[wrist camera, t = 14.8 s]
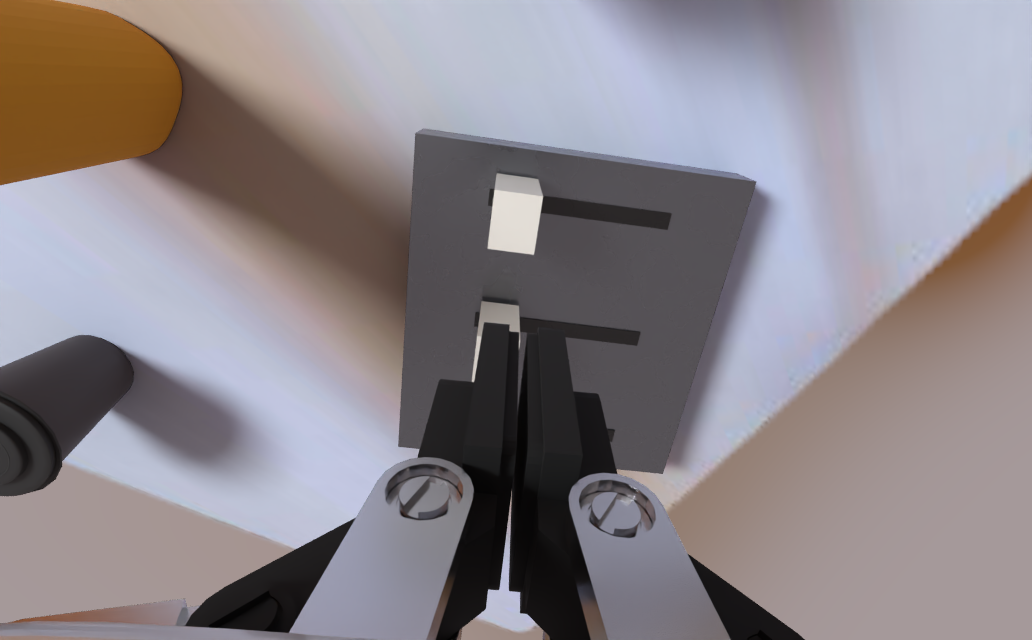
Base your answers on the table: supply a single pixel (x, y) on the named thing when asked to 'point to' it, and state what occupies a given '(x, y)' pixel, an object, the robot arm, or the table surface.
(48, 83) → the flashlight
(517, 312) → the block
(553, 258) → the grey slider panel
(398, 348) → the table surface
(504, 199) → the block
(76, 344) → the coffee cup
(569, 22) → the table surface
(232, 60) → the table surface
